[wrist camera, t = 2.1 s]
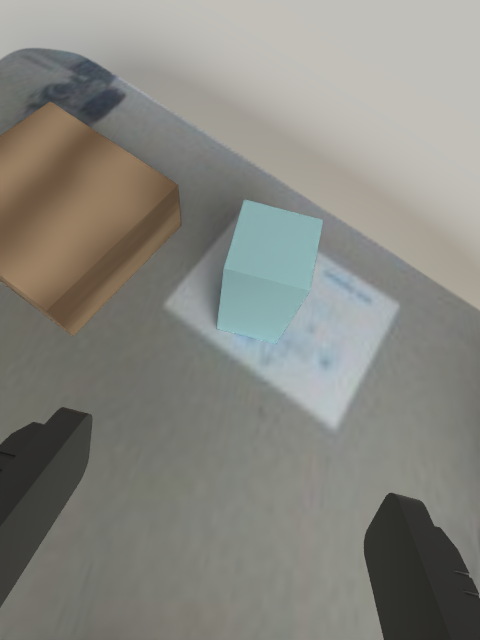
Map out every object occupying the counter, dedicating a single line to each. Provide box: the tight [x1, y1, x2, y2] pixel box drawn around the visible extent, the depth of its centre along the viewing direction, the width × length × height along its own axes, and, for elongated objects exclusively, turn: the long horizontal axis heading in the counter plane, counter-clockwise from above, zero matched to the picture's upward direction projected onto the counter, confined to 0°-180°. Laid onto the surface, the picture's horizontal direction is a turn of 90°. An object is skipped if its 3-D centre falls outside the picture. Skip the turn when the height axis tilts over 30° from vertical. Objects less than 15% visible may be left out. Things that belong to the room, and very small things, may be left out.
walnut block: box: [0, 102, 181, 336], centre depth 26 cm, size 12×12×5 cm
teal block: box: [217, 199, 323, 344], centre depth 23 cm, size 4×4×9 cm
